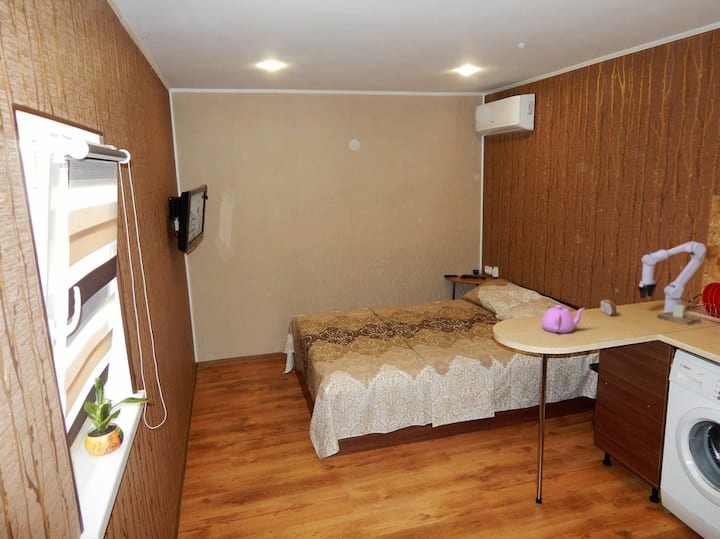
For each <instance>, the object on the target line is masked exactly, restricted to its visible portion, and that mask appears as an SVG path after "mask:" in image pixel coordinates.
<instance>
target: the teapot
mask: <svg viewBox="0 0 720 539" xmlns="http://www.w3.org/2000/svg"><path fill="white" fill-rule="evenodd" d="M585 309H586V308H585V307H582V308H579V309H578V310H577V312H576V316H575V317H574V316H573V314H572V312H571V311H570V310H569V309H568V308H565V307H563V305H561V304H557V305H555V306H554V307H553V306H552V307H549V308H548V309H546V312H545V313H544V314H543V316H542V318H541V323H540V325H541V326H542V328H544V330H545V331H548V332H550V333H556V332H558V334H561V333H562V334H565V333H571V332H572V331H573V330H574V329H575V327H576V326H577V325H578V324H579V323H580V321H581V315H582V312H583V311H584V310H585Z"/></svg>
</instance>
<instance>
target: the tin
mask: <svg viewBox="0 0 720 539" xmlns="http://www.w3.org/2000/svg"><path fill="white" fill-rule="evenodd" d="M600 310H601V312H602V313H604V314H605V315H607V316H610V317H615V316H616V314H617V306H616V304H615V302H614V301H611V300H609V299H607V298H605V299H601V300H600Z"/></svg>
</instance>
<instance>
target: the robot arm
mask: <svg viewBox="0 0 720 539" xmlns="http://www.w3.org/2000/svg"><path fill="white" fill-rule="evenodd" d="M684 252H685V253H689V254H690V257H691V260H690V261H689V262H688V263H687V265H686V266H685V267H684V269H683V270H682V271H680V272H681V273H679V274H678V276H677V277H676V279H675V280H674V281H672V282H671V283H669V284H668V285H667V286H666V287H664V289H663V292H664V295H665V297H664V310H662V311H660V312H661V313H666V312H673V309H674V306H675V305H683V304H682V303H683V300H682V299H681V297H682V294H683V292H684V290H685V286H686V284H687V283H688V282H689V280H690V279H691V278H692V277H693V275H694V274H695V272H697V270H698V269H699V267H700V266H701V265H702V264H703V262H704V260H705V255H706V252H707V248H706V246H705V244H703V243H702V242H701V243H700V242H696V241H693V240H692V241H691V240H690V241H688V242H685V243H683V244H680V245H678V246H675V247H673V248H669V249H667V250H666V249H658V251H656V252H650V254H645V255H644V256H642V258H641V262H642V273H641V274H642V275H641V280H640V281H639V284H638V285H637V290H638V292H639V294H640V295H639V296H640V298H641V299H646V296H647V297H652V296H653V293H654V291H655V289H656V288H657V284H656V280H654V272H655V265H656V264H657V263H659V262H661V261H665V260H666V259H669V258H670V256H673V255H675V254H677V255H678V254H679V253H684Z"/></svg>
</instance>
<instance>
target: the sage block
mask: <svg viewBox="0 0 720 539" xmlns="http://www.w3.org/2000/svg"><path fill="white" fill-rule="evenodd" d="M685 315H686V305H683V304H682V305H675V306H674V309H673V316H674V317H681V318H683V317H684V316H685Z"/></svg>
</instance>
